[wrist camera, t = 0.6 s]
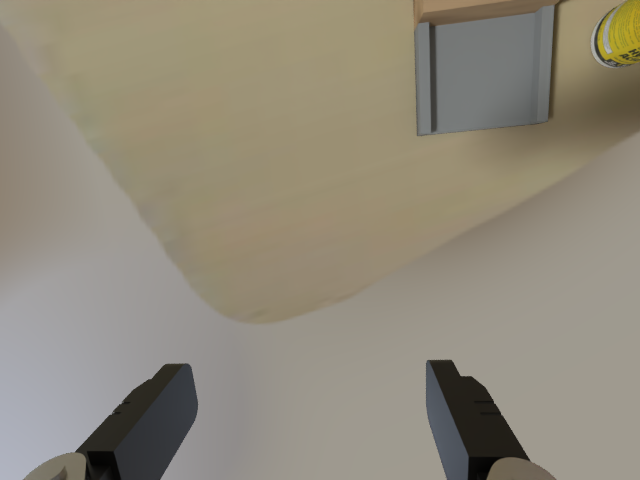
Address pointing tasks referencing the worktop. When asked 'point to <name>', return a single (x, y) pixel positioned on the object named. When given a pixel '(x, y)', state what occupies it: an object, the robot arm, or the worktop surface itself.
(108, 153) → the worktop surface
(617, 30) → the supplement bottle
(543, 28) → the tray
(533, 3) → the brown box
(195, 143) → the worktop surface
